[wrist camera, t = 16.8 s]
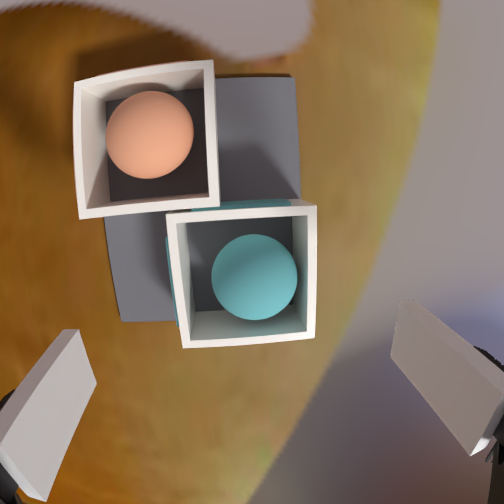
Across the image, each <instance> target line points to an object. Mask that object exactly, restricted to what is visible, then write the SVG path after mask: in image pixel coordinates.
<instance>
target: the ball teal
mask: <svg viewBox="0 0 504 504" xmlns="http://www.w3.org/2000/svg"><path fill="white" fill-rule="evenodd" d="M211 277H212V287H213V290H214V293H215V295H216V297H217V299H218V301H219V302H220V304H221V305H222V306H223V307H224V308H225V309H226V310H227V311H229V312H230V313H232V314H233V315H235V316H237V317H240V318H243V319H247V320H261V319H266V318H269V317H272V316H274V315H276V314H277V313H279V312H280V311H281V310H283V309H284V308H285V307H286V306H287V305H288V303H289V302H290V300H291V299H292V297H293V295H294V293H295V290H296V286H297V268H296V265H295V262H294V259H293V257H292V255H291V254H290V252H289V251H288V250H287V249H286V248H285V247H284V245H282V244H281V243H280V242H278V241H277V240H275V239H273V238H271V237H268V236H264V235H259V234H250V235H244V236H241V237H238V238H236V239H234V240H232V241H231V242H229V243H228V244H227V245H226V246H224V248H223V249H222V250H221V251H220V252H219V254H218V255H217V257H216V259H215V261H214V264H213V268H212V275H211Z"/></svg>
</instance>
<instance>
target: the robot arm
mask: <svg viewBox="0 0 504 504" xmlns="http://www.w3.org/2000/svg"><path fill="white" fill-rule="evenodd" d="M390 357H391V359H392V360H393V361H394V362H395V363H396V364H397V366H398V367H399V368H400V369H401V371H402V372H403V373H404V374H405V375H406V377H407V378H408V379H409V380H410V381H411V383H412V384H413V385H414V386H415V387H416V389H417V390H418V391H419V392H420V394H421V395H422V396H423V397H424V399H425V400H426V401H427V402H428V404H429V405H430V406H431V407H432V408H433V410H434V411H435V412H436V413H437V415H438V416H439V417H440V418H441V419H442V421H443V422H444V424H445V425H446V426H447V427H448V429H449V430H450V431H451V432H452V434H453V435H454V436H455V438H456V439H457V440H458V441H459V443H460V444H461V445H462V447H463V448H464V449H465V450H466V452H467V453H468V454H469V456H471V455H473V454H475V453H477V452H478V451H480V450H482V449H484V448H485V447H486V446H487V444H488V442H489V441H490V439H491V438H492V436H495V438H496V439H497V441H496V443H495V445H494V446H493V448H492V449H491V451H490V453H489V454H488V456H487V458H486V460H485V462H488V461H489V459H490V458H491V456H492V455H493V460H492V463H493V464H492V474H491V483H490V490H489V497H488V503H487V504H504V365H501V363H500V362H499V361H497V360H495V359H494V357H493V356H491V355H490V354H489V353H488V352H487V351H485V350H483V349H480V348H478V347H476V346H472V345H470V344H469V343H468V342H467V341H465V340H464V339H463V338H462V337H461V336H459V335H458V334H457V333H456V332H454V331H453V330H452V329H451V328H449V327H448V326H447V325H445V324H444V323H443V322H442V321H440V320H439V319H438V318H437V317H435V316H434V315H433V314H431V313H430V312H429V311H427V310H426V309H425V308H423V307H422V306H421V305H420V304H418V303H417V302H416V301H414V300H409V301H402V302H399V303H398V311H397V318H396V324H395V331H394V337H393V343H392V349H391V355H390ZM96 384H97V383H96V380H95V377H94V375H93V372H92V369H91V366H90V363H89V360H88V357H87V354H86V351H85V348H84V345H83V342H82V339H81V336H80V332H79V329H63V331H62V332H61V333H60V334H59V335H58V337H57V338H56V339H55V340H54V341H53V343H52V344H51V345H50V346H49V348H48V349H47V350H46V351H45V353H44V354H43V355H42V356H41V358H40V359H39V360H38V361H37V363H36V364H35V365H34V366H33V368H32V369H31V370H30V372H29V373H28V374H27V375H26V377H25V378H24V379H23V381H22V382H21V383H20V385H19V386H18V387H17V389H16V390H15V389H14V390H12V391H11V392H10V393H8V394H7V395H6V396H4V397H3V399H2V400H1V401H0V504H22V501H21V499H20V497H19V495H18V494H17V493H16V491H17V488H18V486H19V487H20V488H21V489H22V490H23V491H24V492H25V493H26V495H27V496H29V497H32V498H35V499H38V500H42V501H45V502H46V501H47V498H48V496H49V493H50V490H51V488H52V485H53V482H54V480H55V477H56V475H57V472H58V470H59V467H60V465H61V462H62V460H63V457H64V455H65V453H66V450H67V448H68V446H69V443H70V441H71V439H72V436H73V434H74V432H75V429H76V427H77V425H78V423H79V420H80V418H81V416H82V414H83V412H84V410H85V407H86V405H87V403H88V401H89V399H90V397H91V395H92V392H93V390H94V388H95V386H96Z"/></svg>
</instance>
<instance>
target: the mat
mask: <svg viewBox="0 0 504 504" xmlns="http://www.w3.org/2000/svg"><path fill="white" fill-rule="evenodd" d="M215 88H216V114H217V137H218V157H219V176H220V194H221V202H225V201H242V200H260V199H282V198H284V199H301V189H300V161H299V139H298V120H297V104H296V89H295V78H291V77H244V78H220V79H215ZM164 93H167V94H169V95H171V96H173V97H175V98H176V99H178V100H179V101H180V102H181V103H182V104H183V105H184V106H185V107H186V109H187V110H188V112H189V113H190V116H191V118H192V122H193V127H194V138H193V143H192V146H191V149H190V151H189V153H188V155H187V157H186V158H185V160H184V161H183V162H182V163H181V164H180V165H179V166H178V167H177V168H176V169H174V170H173V171H172V172H170V173H168V174H166V175H164V176H161V177H158V178H152V179H143V178H137V177H133V176H131V175H128V174H127V173H125V172H123V171H122V170H120V169H119V168H118V167H117V166H116V165H115V163H114V162H113V161H112V159H111V158H110V156H109V153H108V150H107V161H108V177H109V190H110V201H111V202H113V201H121V200H130V199H140V198H150V197H160V196H171V195H183V194H195V193H209V185H208V167H207V148H206V126H205V99H204V88H199V89H188V90H178V91H170V92H164ZM128 98H129V97H128ZM126 99H127V98H122V99H117V100H112V101H106V128H107V124H108V121H109V119H110V117H111V115H112V114H113V112H114V111H115V109H116V108H117V107H118V106H119V105H120V104H121V103H122V102H123V101H124V100H126ZM170 211H171V210H167V211H155V212H144V213H134V214H124V215H114V216H105V217H104V221H105V229H106V237H107V244H108V251H109V257H110V264H111V270H112V276H113V281H114V287H115V292H116V297H117V302H118V307H119V312H120V316H121V321H122V322H144V321H173V320H176V316H175V310H174V303H173V296H172V289H171V281H170V274H169V266H168V257H167V249H166V239H165V238H166V237H167V236H168V234H167V223H166V214H167V213H168V212H170ZM186 226H187V237H188V248H189V258H190V268H191V277H192V286H193V295H194V303H195V311H196V312H200V311H217V310H226V309H225V308H224V307H223V306H222V305H221V304H220V302H219V301H218V299H217V297H216V295H215V293H214V290H213V287H212V277H211V275H212V268H213V264H214V261H215V259H216V257H217V255H218V254H219V252H220V251H221V250H222V249H223V248H224V246H226V245H227V244H228V243H229V242H231V241H232V240H234V239H236V238H238V237H241V236H244V235H250V234H259V235H264V236H268V237H271V238H273V239H275V240H277V241H278V242H280V243H281V244H282V245H284V247H285V248H286V249H287V250H288V251H289V252H290V254H291V255H292V257H293V231H292V216H283V217H264V218H247V219H230V220H215V221H201V222H187V223H186ZM288 305H293V297H292V299H291V300H290V302H289V303H288Z"/></svg>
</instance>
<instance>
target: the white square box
mask: <svg viewBox="0 0 504 504" xmlns="http://www.w3.org/2000/svg"><path fill="white" fill-rule="evenodd" d="M199 88H204V99H205V126H206V148H207V167H208V185H209V193H195V194H183V195H171V196H160V197H150V198H140V199H130V200H121V201H113V202H111V201H110V190H109V177H108V161H107V147H106V139H105V135H106V101H112V100H117V99H122V98H128V97H131V96H133V95H135V94H138V93H141V92H146V91H158V92H170V91H178V90H188V89H199ZM73 157H74V175H75V188H76V196H77V202H78V211H79V219H87V218H96V217H105V216H114V215H124V214H134V213H144V212H155V211H167V210H179V209H191V208H205V207H219V206H220V202H221V194H220V176H219V157H218V137H217V114H216V88H215V73H214V63H213V60H201V61H189V60H185V61H176V62H168V63H160V64H153V65H147V66H141V67H135V68H129V69H124V70H119V71H114V72H109V73H105V74H100V75H97V77H93V78H89V79H85V80H81V81H77V82H74V105H73Z"/></svg>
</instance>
